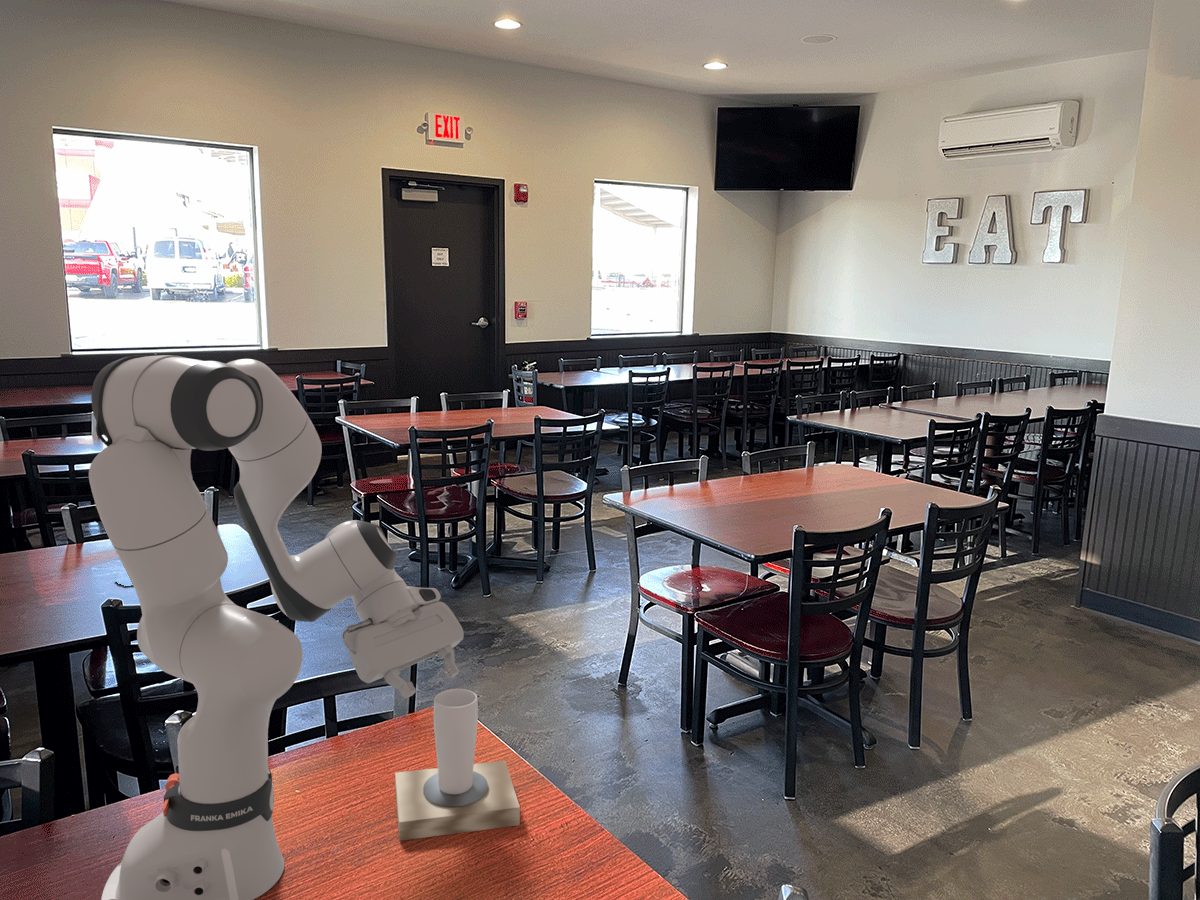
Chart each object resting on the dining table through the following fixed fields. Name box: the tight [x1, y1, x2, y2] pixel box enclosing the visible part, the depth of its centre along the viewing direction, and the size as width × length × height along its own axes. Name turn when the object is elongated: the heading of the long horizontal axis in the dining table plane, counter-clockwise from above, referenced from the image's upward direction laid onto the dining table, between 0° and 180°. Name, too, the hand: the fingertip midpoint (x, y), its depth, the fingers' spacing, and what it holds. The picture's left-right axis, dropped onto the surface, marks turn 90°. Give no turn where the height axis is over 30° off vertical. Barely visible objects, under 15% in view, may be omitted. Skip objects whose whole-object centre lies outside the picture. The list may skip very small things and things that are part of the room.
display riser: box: [394, 760, 521, 842], centre depth 139 cm, size 18×14×4 cm
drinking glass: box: [433, 688, 479, 795], centre depth 137 cm, size 7×7×15 cm
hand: (432, 685), depth 138 cm, fingers open, 8 cm apart
